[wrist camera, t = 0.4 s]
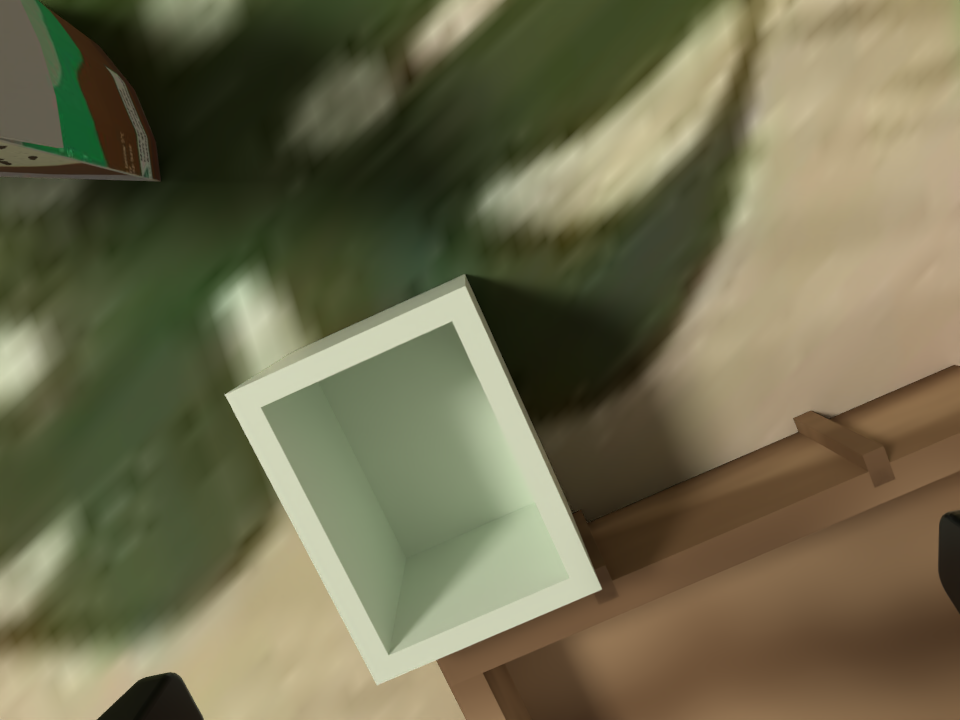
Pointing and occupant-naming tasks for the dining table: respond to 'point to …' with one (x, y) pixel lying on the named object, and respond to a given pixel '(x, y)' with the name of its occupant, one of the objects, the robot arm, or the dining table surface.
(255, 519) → the dining table surface
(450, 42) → the dining table surface
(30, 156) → the food container
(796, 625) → the crate
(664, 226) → the dining table surface
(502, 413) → the small crate
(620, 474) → the dining table surface
